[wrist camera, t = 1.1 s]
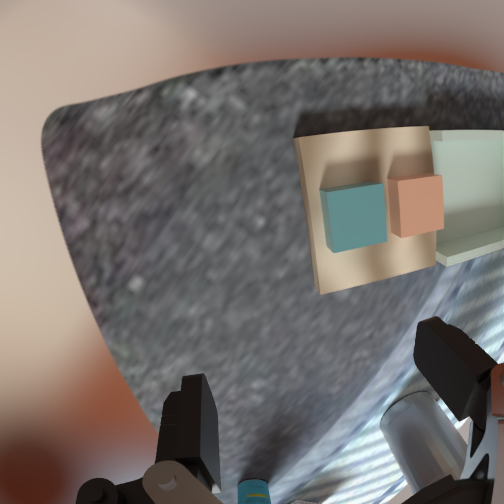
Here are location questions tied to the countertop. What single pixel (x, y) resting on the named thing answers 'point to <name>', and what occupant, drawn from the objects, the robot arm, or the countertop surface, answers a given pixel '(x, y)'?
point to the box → (469, 192)
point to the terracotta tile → (415, 204)
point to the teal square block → (354, 215)
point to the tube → (253, 492)
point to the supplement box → (303, 502)
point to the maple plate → (356, 171)
